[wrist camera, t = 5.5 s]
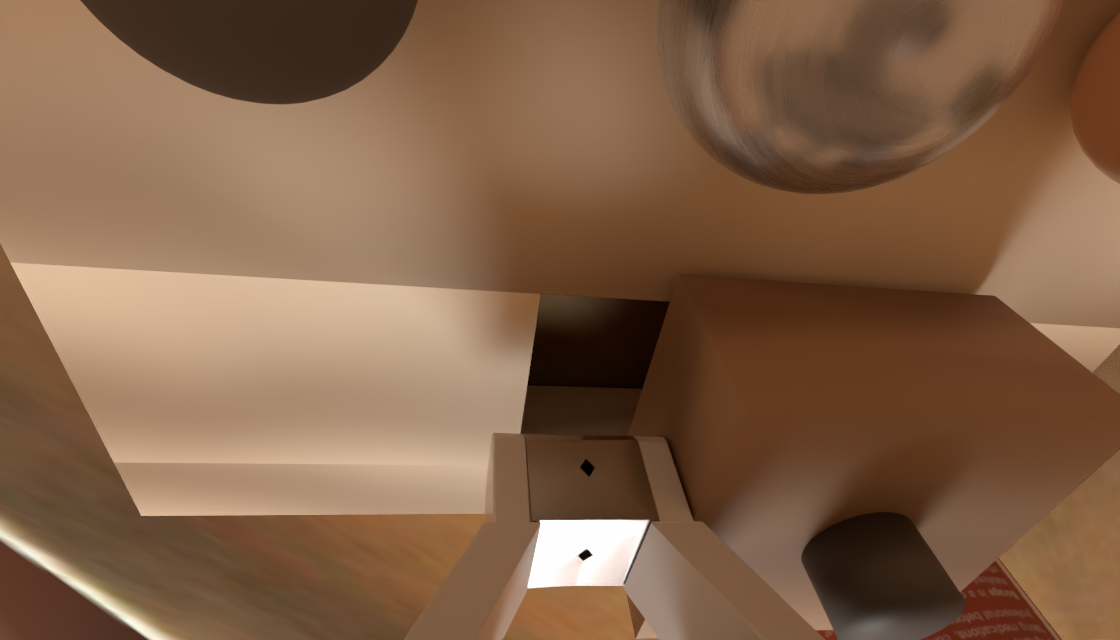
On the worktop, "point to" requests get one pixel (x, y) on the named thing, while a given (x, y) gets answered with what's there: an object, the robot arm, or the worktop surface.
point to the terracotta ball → (1100, 101)
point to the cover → (868, 440)
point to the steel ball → (843, 81)
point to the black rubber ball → (261, 42)
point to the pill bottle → (992, 612)
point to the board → (457, 242)
